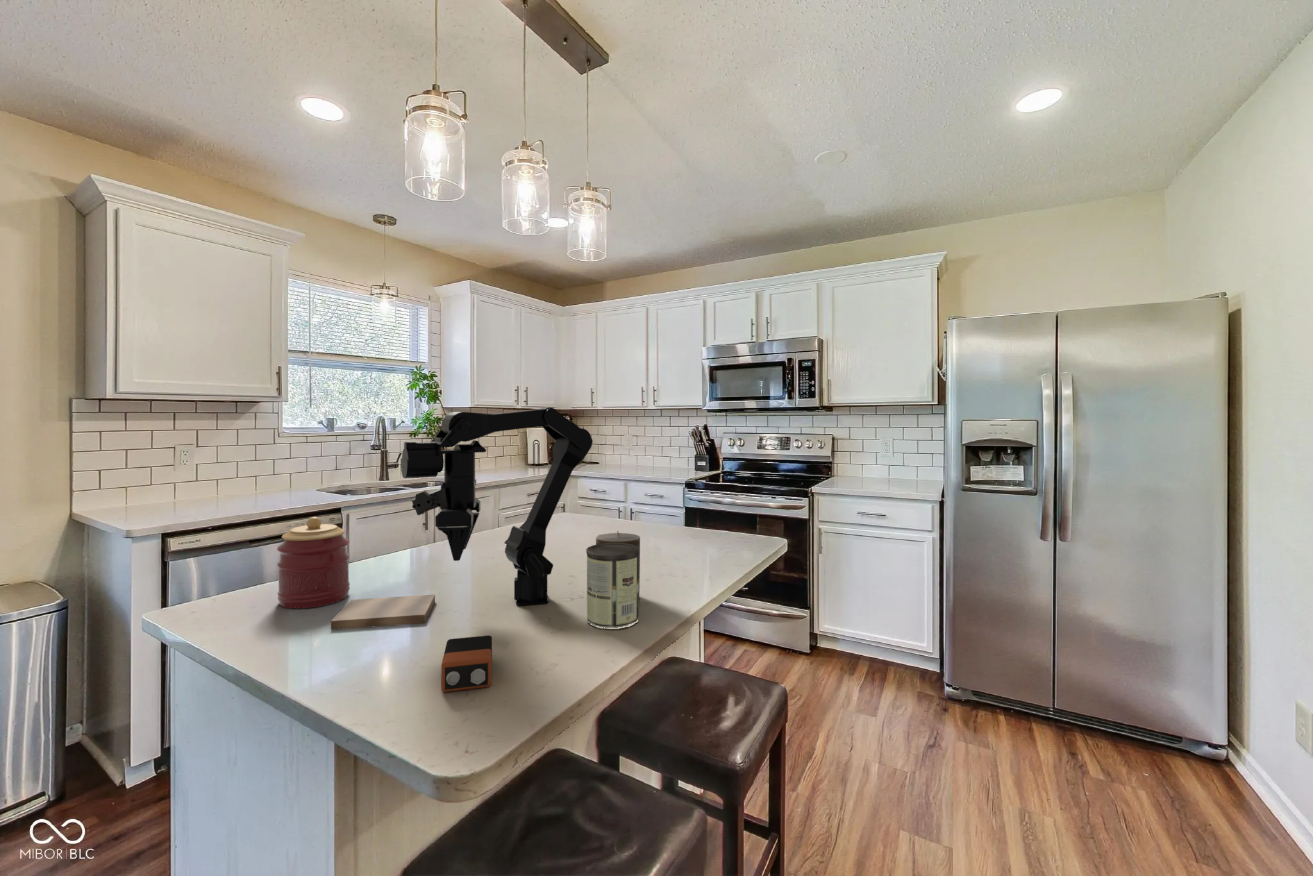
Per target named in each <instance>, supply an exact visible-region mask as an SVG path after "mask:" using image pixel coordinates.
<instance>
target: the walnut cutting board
mask: <svg viewBox="0 0 1313 876" xmlns="http://www.w3.org/2000/svg"><path fill="white" fill-rule="evenodd" d="M435 602H436V594H422V595H420V594H419V595H407V596H406V595H405V596H390V597H389V596H388V597H387V596H386V597H374V598H358V599H357V598H356V599H354V598H353V599H350V600H349V601H348V602H347V603H346V605H345V606H344V607H343V608H342V609H341V610H340V611H339V612H338V613H337V614H336V615H335V616H334V617H333V618H332V619H331V620H330V629H333V630H345V628H347V629H357V628H358V629H360V628H371V627H372V626H375V627H384V626H385V627H386V626H387V625H388V626H399V625H400V626H401V625H413V624H425V623H426V621H427V619H428V617H429V615H430V614H431V611H432V609H433V607H434V605H435ZM343 628H344V629H343ZM372 628H373V627H372Z"/></svg>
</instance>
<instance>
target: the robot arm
mask: <svg viewBox="0 0 1313 876" xmlns="http://www.w3.org/2000/svg"><path fill="white" fill-rule="evenodd" d="M536 427H537V428H538V427H542V429H543V430H544V431H545V433H547V435H548V436H549V437H550V438H551V439H552V440H554V444H553V451H552V452H553V453H552V463H551V465H550V468H549V470H548V471H547V474H546V477H545V478H544V481H543V483H542V486H541V487H540V489H539V492H538V494H537V495H536V498H535V500H534V502H533V505H532V507H531V509H530V511H529V513H528V516H527V518H526V519H525V521H524V522H523V523H522V525H520V526H519V527H517V526H516V525H512V527H511V529H510V533H509V535H508V538H507V539H505V541H504V544H506V546H505V548H504V553H505V556H506V559H508V561H509V562H511V563H512V566H513V568H514V569H515V570H516V571H517V574H516V576H517V577H516V576H515V577H514V580H513V590H514V591H513V592H514V593H513V594H514V595H513V596H514V597H513V598H514V600H515V601H516V602H515V603H516V606H525V605H528V606H529V605H540V604H541V605H545V604H548V603H549V597H548V575H551V574H552V571H553V568H554V564H553V563H552V562H551V561H550V560H549V559H548V558H547V557H546V556H544V552H545V549H546V543H547V542H546V541H547V540H546V539H547V537H546V536H547V529H548V526H549V524H550V522H551V520H552V517H553V515H554V514H555V510H556V508H557V506H558V505H559V502H560V500H561V497H562V494H563V493H564V491H565V489H566V487H567V484H568V481H569V480H570V478H571V475H572V472H573V471H574V469H575V468H576V467H577V466H578V465H579V464H580V463H581V462H582V461H584V459H585V458H586V457H587V455H588V453H589V451H590V450H591V449H592V445H593V444H594V443H593V442H594V440H593V438H592V435H591V433H590V431H588V430H587V429H585V428H581V427H579V426H578V425H577V424H576V423H574V422H573V421H571V420H570V419H568V418H567V417H565V416H564V415H562V414H561V413H560V412H559V411H558V410H556V408H554V407H550V406H549V407H540V408H537V409H536V408H535V409H529V410H517V411H508V412H499V413H498V412H497V413H482V412H469V411H453V412H450V413H447V414H446V415H445V417H444V418H442V420H441V428H440V429H439V430H438V432H437V433H436V435H434V437H433V438H432V439H431V440H430V442H416V441H415V442H414V441H405V442H403V449H402V453H401V458H400V471H401V476H402V478H403V479H419V478H436V477H437V476H438V474H439V473H441V472H444V473H443V474H444V475H443V476H444V477H443V480H444V481H442V482H441V483H440V488H438V489H435V490H432V491H431V492H427V491H426V490H423V491H421V492H418V493H415V496H414V498H413V499H411V502H412V509H414V510H415V513H416V515H417V516H421V515H424V514H425V513H426V512H428V511H432V510H434V509H437V508H439V509H440V511H439V512H438V513H437V514H436V515H435V521H434V522H435V528H437V529H438V531H441V532H442V533H444V535H446V537H447V541H448V544H449V549H450V551H451V556H452V560H453V561H454V562H459V561H460V560H461V558H462V555H463V553H464V550H466V549H467V546H468V544H469V541H470V539H471V536H472V534H473V531H474V529H475V526H476V523H477V521H478V519H479V515H480V512H481V501H480V500H479V499H478V498H477V497H476V485H477V479H476V454H477V453H486V452H487V449H486V448H485V447H484V446H483V445H482V444H481V442H479V441H478V440H476V439H480V438H483V437H485V436H488V435H491V434H493V433H497V432H505V431H515V430H521V429H522V430H523V429H529V428H536ZM470 441H472V442H471V443H467V444H465V443H464V442H470ZM461 442H463V443H464V444H463V443H462V444H461ZM459 443H460V444H459ZM442 448H453V449H442ZM473 511H476V512H473Z"/></svg>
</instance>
